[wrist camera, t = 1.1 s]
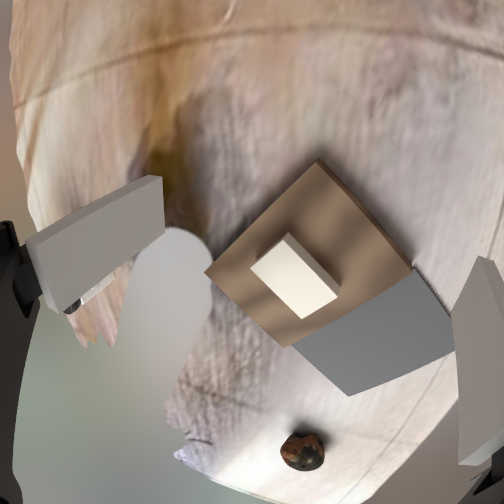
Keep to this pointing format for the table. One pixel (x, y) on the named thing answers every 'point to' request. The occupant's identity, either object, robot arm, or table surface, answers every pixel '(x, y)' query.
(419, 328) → the place mat
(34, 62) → the table surface
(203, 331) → the table surface
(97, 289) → the jar
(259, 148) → the table surface
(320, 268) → the cream rectangular block
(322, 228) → the serving board
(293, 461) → the decorative turtle
